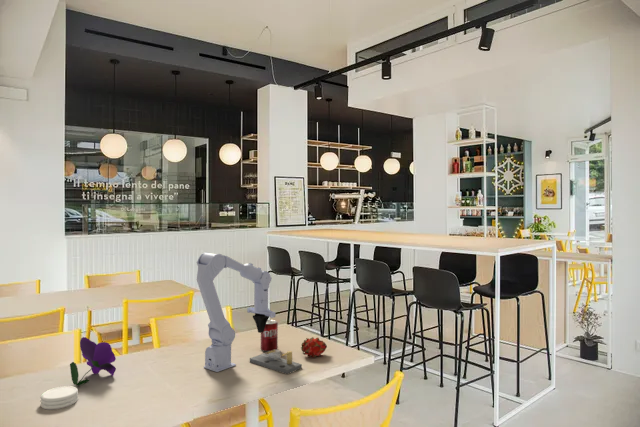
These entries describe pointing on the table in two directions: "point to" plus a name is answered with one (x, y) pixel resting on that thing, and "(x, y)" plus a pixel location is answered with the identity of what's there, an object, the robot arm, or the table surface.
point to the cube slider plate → (277, 362)
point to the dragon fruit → (313, 347)
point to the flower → (94, 359)
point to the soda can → (270, 336)
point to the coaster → (59, 397)
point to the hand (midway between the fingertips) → (260, 332)
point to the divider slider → (274, 354)
